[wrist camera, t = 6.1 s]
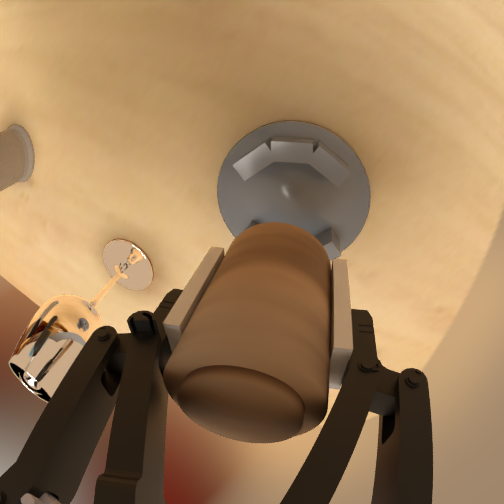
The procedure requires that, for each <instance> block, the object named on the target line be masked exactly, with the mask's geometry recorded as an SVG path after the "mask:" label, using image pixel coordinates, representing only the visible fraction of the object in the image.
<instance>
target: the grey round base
mask: <svg viewBox="0 0 504 504" xmlns="http://www.w3.org/2000/svg"><path fill="white" fill-rule="evenodd" d="M217 196H218V204H219V208H220V212H221V214H222V217H223V219H224V222H225V223H226V225H227V227H228V229H229V230H230V232H231V233H232V234H233V236H234V237H235V238H236V237H237V236H238V235H239V234H241V233H242V232H243V231H245V230H246V229H248V228H250V227H252V226H255V225H258V224H262V223H268V222H281V223H287V224H291V225H295V226H297V227H300V228H302V229H304V230H305V231H307V232H309V233H310V234H311V235H313V236H314V237H315V238H316V239H317V240H318V241H319V242H320V243H321V244H322V246H323V247H324V249H325V250H326V252H327V254H328V257H329V260H330V261H331V260H333V259H335V258H337V257H339V256H341V252H342V251H343V250H345V249H346V248H347V247H348V246H349V245H350V244H351V243H352V242H353V241H354V240H355V239H356V237H357V236H358V235H359V233H360V232H361V230H362V228H363V226H364V224H365V221H366V219H367V216H368V211H369V207H370V187H369V182H368V178H367V175H366V172H365V169H364V167H363V165H362V163H361V161H360V160H359V158H358V156H357V155H356V153H355V152H354V151H353V149H352V148H351V147H350V146H349V145H348V144H347V143H346V142H345V141H344V140H343V139H341V138H340V137H339V136H338V135H336V134H335V133H333V132H331V131H329V130H328V129H326V128H323V127H321V126H318V125H315V124H312V123H308V122H301V121H282V122H275V123H271V124H268V125H265V126H262V127H260V128H258V129H256V130H254V131H253V132H251V133H249V134H248V135H246V136H245V137H244V138H243V139H241V140H240V141H239V142H238V143H237V144H236V145H235V146H234V147H233V148H232V150H231V151H230V152H229V154H228V155H227V157H226V159H225V161H224V163H223V165H222V167H221V170H220V174H219V178H218V185H217Z"/></svg>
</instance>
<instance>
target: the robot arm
mask: <svg viewBox="0 0 504 504" xmlns="http://www.w3.org/2000/svg"><path fill="white" fill-rule="evenodd" d="M223 258H224V248H218V247H211V248H210V250H209V251H208V253H207V254H206V256H205V257H204V259H203V261H202V262H201V264H200V265H199V267H198V268H197V270H196V271H195V273H194V274H193V276H192V278H191V279H190V281H189V282H188V284H187V285H186V287H185V289H184V290H180V289H173V290H172V291H170V292H169V293H167V294H166V296H165V297H164V299H163V300H162V302H161V303H160V305H159V307H157V309H156V310H155V312H154V313H151V312H149V311H138V312H136V313H133V314H132V315H131V316H130V317H129V318H128V320H127V322H128V325H129V328H130V331H131V333H124V334H117V332H116V330H115V329H114V328H113V327H111V326H102V327H99V328H98V329H96V330H95V331H94V332H93V333H92V335H91V336H90V338H89V339H88V340H87V342H86V343H85V345H84V346H83V348H82V350H81V351H80V353H79V354H78V356H77V357H76V359H75V360H74V362H73V363H72V365H71V366H70V368H69V370H68V371H67V373H66V374H65V376H64V378H63V379H62V381H61V382H60V384H59V386H58V387H57V389H56V391H55V392H54V394H53V396H52V397H51V399H50V401H49V402H48V404H47V406H46V408H45V409H44V411H43V413H42V415H41V416H40V418H39V420H38V422H37V423H36V425H35V427H34V429H33V431H32V432H31V434H30V436H29V438H28V440H27V442H26V444H25V446H24V448H23V449H22V451H21V453H20V455H19V457H18V459H17V461H16V462H15V463H14V464H13V465H12V466H11V467H10V468H9V469H8V470H7V471H6V472H5V473H4V474H3V475H2V476H1V477H0V504H70V502H71V501H72V499H73V498H74V496H75V494H76V492H77V490H78V487H79V485H80V482H81V480H82V477H83V475H84V473H85V471H86V468H87V466H88V464H89V461H90V459H91V457H92V454H93V452H94V450H95V448H96V446H97V443H98V441H99V439H100V437H101V435H102V432H103V430H104V428H105V426H106V423H107V421H108V419H109V417H110V415H111V413H112V411H113V409H114V407H115V412H114V417H113V422H112V428H111V434H110V440H109V447H108V453H107V461H106V468H105V472H104V473H103V474H101V475H99V477H98V478H97V482H96V488H95V497H94V504H166V503H165V499H164V495H163V484H164V482H163V481H164V453H165V433H166V432H165V431H166V416H167V403H168V391H167V389H166V387H165V385H164V381H163V372H164V368H165V366H166V364H167V362H168V360H169V358H170V357H171V355H172V353H173V351H174V349H175V347H176V345H177V343H178V341H179V340H180V338H181V336H182V334H183V332H184V330H185V328H186V326H187V325H188V323H189V321H190V319H191V317H192V315H193V313H194V311H195V310H196V308H197V306H198V304H199V302H200V300H201V299H202V297H203V295H204V293H205V291H206V289H207V288H208V286H209V284H210V282H211V280H212V278H213V277H214V275H215V273H216V271H217V269H218V267H219V266H220V264H221V262H222V260H223ZM341 384H342V387H341V389H340V386H341ZM329 388H332V389H340V391H339V394H338V396H337V398H336V400H335V403H334V405H333V407H332V409H331V411H330V413H329V415H328V418H327V420H326V422H325V424H324V426H323V428H322V430H321V432H320V434H319V436H318V438H317V440H316V442H315V444H314V446H313V447H312V450H311V451H310V453H309V455H308V457H307V459H306V460H305V462H304V464H303V466H302V468H301V469H300V471H299V473H298V475H297V476H296V478H295V480H294V482H293V483H292V485H291V487H290V488H289V490H288V492H287V493H286V495H285V497H284V498H283V500H282V501H281V503H280V504H329V502H330V500H331V498H332V496H333V494H334V492H335V490H336V488H337V486H338V484H339V482H340V480H341V478H342V476H343V474H344V471H345V469H346V467H347V465H348V462H349V460H350V458H351V455H352V453H353V451H354V448H355V446H356V443H357V441H358V438H359V436H360V433H361V431H362V428H363V425H364V423H365V420H366V417H367V415H368V412H369V411H370V412H373V413H376V414H379V434H378V449H377V461H376V471H375V481H374V488H373V496H372V502H371V504H432V489H433V443H432V423H431V409H430V398H429V389H428V381H427V378H426V376H425V375H424V373H423V372H421V371H420V370H418V369H414V368H409V369H405V370H403V371H402V372H401V373H398V372H395V371H391V370H389V369H387V368H385V367H384V366H382V364H381V362H380V360H378V358H377V352H376V343H375V335H374V327H373V320H372V317H371V315H370V314H369V312H368V311H367V310H356V309H351V304H350V292H349V280H348V270H347V260H344V259H333V262H332V269H331V347H330V376H329ZM115 404H116V406H115Z"/></svg>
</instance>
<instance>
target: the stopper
mask: <svg viewBox="0 0 504 504" xmlns="http://www.w3.org/2000/svg"><path fill="white" fill-rule="evenodd" d="M330 347H331V264H330V260H329V257H328V254H327V252H326V250H325V249H324V247H323V246H322V244H321V243H320V242H319V241H318V240H317V239H316V238H315V237H314V236H313V235H311V234H310V233H309V232H307V231H305V230H304V229H302V228H300V227H297V226H295V225H291V224H287V223H281V222H268V223H262V224H258V225H255V226H252V227H250V228H248V229H246V230H245V231H243V232H242V233H241V234H239V235H238V236H237V237H236V238H235V240H234V241H233V242H232V244H231V246H230V248H229V249H228V251H227V253H226V255H225V257H224V258H223V260H222V262H221V264H220V266H219V267H218V269H217V271H216V273H215V275H214V277H213V278H212V280H211V282H210V284H209V286H208V288H207V289H206V291H205V293H204V295H203V297H202V299H201V300H200V302H199V304H198V306H197V308H196V310H195V311H194V313H193V315H192V317H191V319H190V321H189V323H188V325H187V326H186V328H185V330H184V332H183V334H182V336H181V338H180V340H179V341H178V343H177V345H176V347H175V349H174V351H173V353H172V355H171V357H170V358H169V360H168V362H167V364H166V366H165V368H164V372H163V381H164V385H165V387H166V389H167V391H168V393H169V395H170V396H171V398H172V399H173V400H174V401H175V402H176V403H177V404H178V405H179V406H180V408H181V409H182V410H183V412H184V413H185V414H186V415H187V416H188V417H189V418H190V419H191V420H193V421H194V422H195V423H197V424H198V425H200V426H201V427H203V428H205V429H207V430H209V431H211V432H213V433H215V434H218V435H220V436H223V437H226V438H230V439H233V440H238V441H243V442H251V443H274V442H279V441H284V440H287V439H289V438H292V437H293V436H297V435H300V434H303V433H306V432H308V431H310V430H312V429H313V428H315V427H316V426H318V425H319V424H320V423H321V422H322V421H323V419H324V418H325V416H326V413H327V409H328V394H329V376H330Z"/></svg>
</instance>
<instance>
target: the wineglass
mask: <svg viewBox="0 0 504 504" xmlns="http://www.w3.org/2000/svg"><path fill="white" fill-rule="evenodd" d="M103 260H104V264H105V267H106V269H107V271H108V272H109V274H110V275H111V277H112V279H111V280H110V281H109V282H108V283H107V284H106V285H105V286H104V288H103V289H102V290H101V291H100V292H99V293H98V294H97V295H96V296H95V297H94V298H93V299H91V300H90V301H87V300H86V299H84V298H82V297H79V296H75V295H72V294H65V295H58V296H55V297H53V298H51V299H49V300H48V301H47V302H46V303H45V304H43V305H42V306H41V307H40V309H39V310H38V311H37V312H36V314H35V315H34V316H33V318H32V319H31V321H30V322H29V324H28V326H27V328H26V329H25V331H24V333H23V335H22V336H21V338H20V340H19V342H18V344H17V346H16V348H15V350H14V352H13V354H12V357H11V359H10V361H9V365H10V368H11V370H12V371H13V373H14V374H15V375H16V377H17V378H18V379H19V380H20V381H21V382H22V383H23V384H24V385H25V386H26V387H27V388H28V389H29V390H30V391H31V392H33V393H34V394H35V395H37V396H38V397H39V398H41V399H42V400H44V401H46V402H49V401H50V399H51V397H52V396H53V394H54V392H55V391H56V389H57V387H58V386H59V384H60V382H61V381H62V379H63V378H64V376H65V374H66V373H67V371H68V370H69V368H70V366H71V365H72V363H73V362H74V360H75V359H76V357H77V356H78V354H79V353H80V351H81V350H82V348H83V346H84V345H85V343H86V342H87V340H88V339H89V338H90V336H91V335H92V333H93V332H94V331H95V330H96V329H98V328H99V327H102V326H104V324H103V321H102V319H101V316H100V314H99V312H98V311H97V309H96V308H97V306H98V304H99V302H100V301H101V299H102V298H103V297H104V296H105V294H106V293H107V292H108V291H109V290H110V289H111V287H112V286H113V285H114V284H115V283H116V282H117V283H119V284H120V285H121V286H123V287H125V288H127V289H130V290H137V291H139V290H143V289H145V288H147V287H148V286H149V285H150V284H151V282H152V278H153V271H152V266H151V264H150V261H149V260H148V258H147V256H146V255H145V254H144V252H143V251H142V250H141V249H140V248H138V247H137V246H136V245H134V244H133V243H131V242H129V241H126V240H121V239H117V240H113V241H110V242H109V243H108V244H107V245H106V246H105V248H104V251H103Z"/></svg>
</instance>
